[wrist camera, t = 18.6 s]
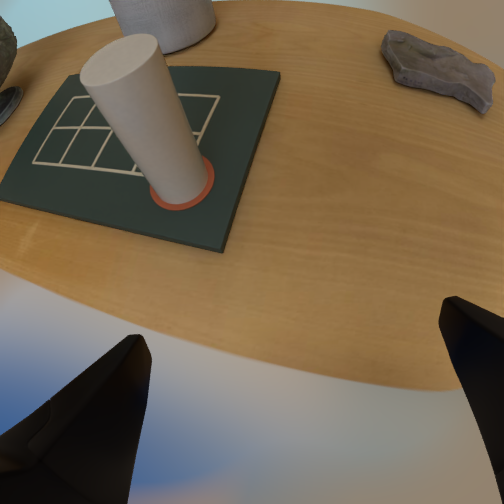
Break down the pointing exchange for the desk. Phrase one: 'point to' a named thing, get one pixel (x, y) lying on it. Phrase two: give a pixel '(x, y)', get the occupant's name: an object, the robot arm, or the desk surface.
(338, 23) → the desk surface
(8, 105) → the bowl
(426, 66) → the stone
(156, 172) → the white upright cylinder
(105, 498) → the robot arm
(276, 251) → the desk surface
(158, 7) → the planter
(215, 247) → the board
